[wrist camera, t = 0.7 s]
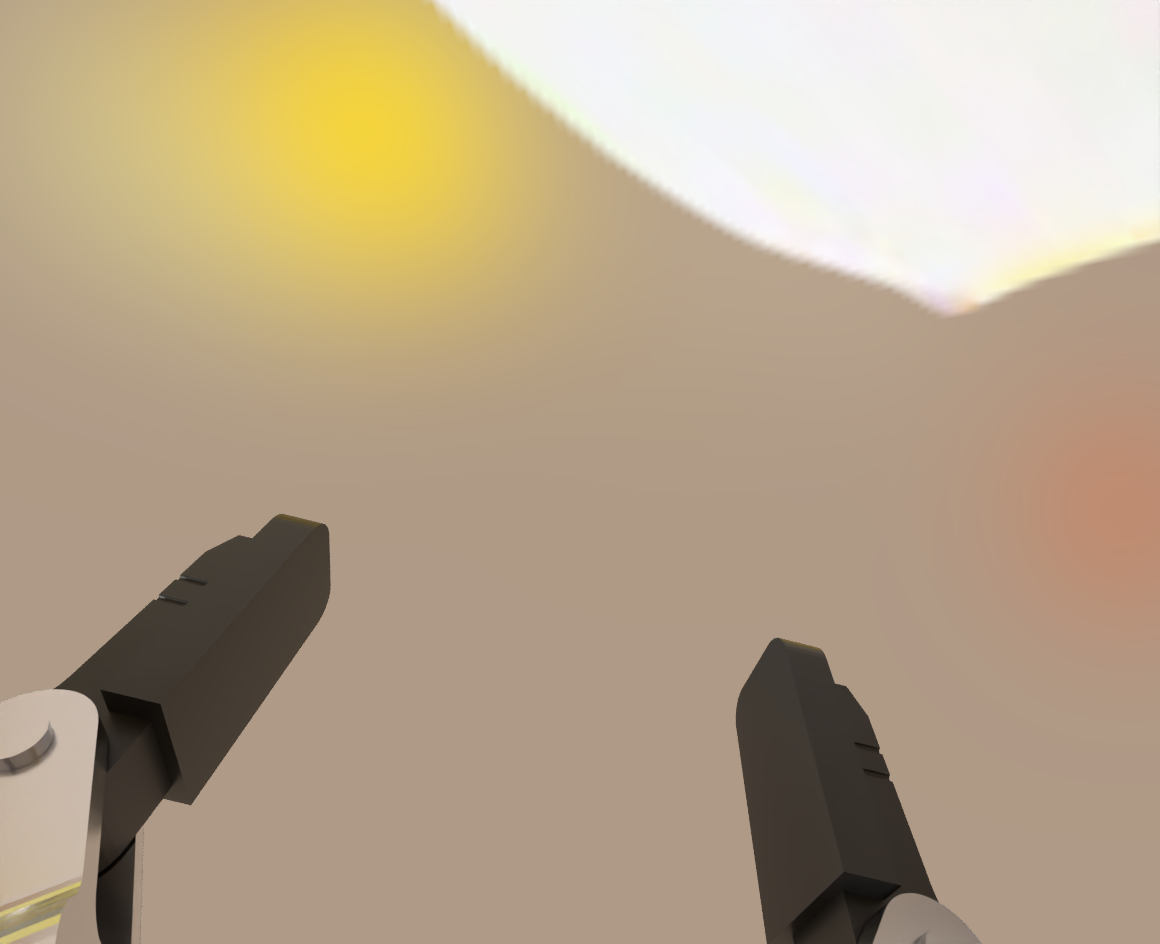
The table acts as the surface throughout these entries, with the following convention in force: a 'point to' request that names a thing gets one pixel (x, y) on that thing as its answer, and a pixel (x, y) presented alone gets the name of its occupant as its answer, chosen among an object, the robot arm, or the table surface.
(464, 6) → the table surface
